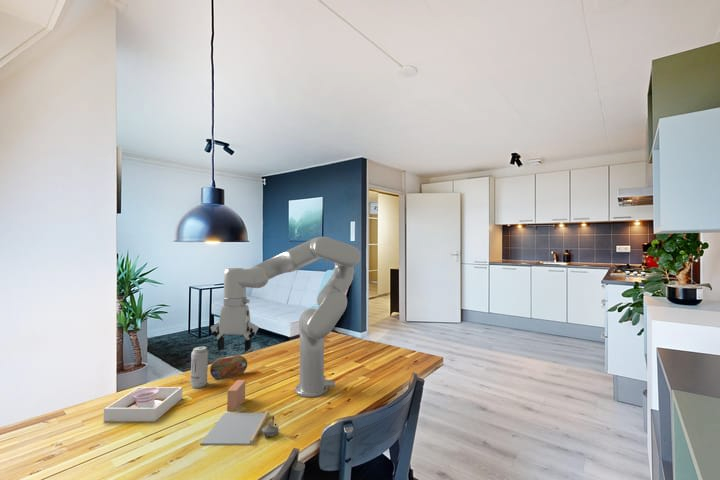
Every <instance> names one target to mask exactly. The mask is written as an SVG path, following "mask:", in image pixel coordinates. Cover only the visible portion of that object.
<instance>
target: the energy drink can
mask: <svg viewBox="0 0 720 480" xmlns="http://www.w3.org/2000/svg"><path fill="white" fill-rule="evenodd" d="M190 355H191V356H190V358H191V359H190V386H191V388H193V389H201V388H203V387H206V384H208V369H209V368H208V365H209V361H208V360H209V351H208V349H207V346H196V347H194V348H193V349H192V352H191V353H190Z"/></svg>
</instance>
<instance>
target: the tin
mask: <svg viewBox="0 0 720 480" xmlns="http://www.w3.org/2000/svg"><path fill="white" fill-rule="evenodd" d="M247 367H248V361H247V359H246V358H245V357H244V356H242V355H239V354H237V355H231V356H226V357H219V358H217V359H215V360H213V362H211V364H210V367H209V372H210V375H211V376H212V378H213V379H216V380H223V379H228V378H233V377H237V376H241V375H242V374H244V373H245V371H246V370H247Z"/></svg>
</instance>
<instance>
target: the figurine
mask: <svg viewBox="0 0 720 480" xmlns="http://www.w3.org/2000/svg"><path fill="white" fill-rule="evenodd" d="M279 432H280V428H279V424H278V423H277V420H276V419H275V416H274V415H272V416H271V419H269V421H267V425H265V426H262V428H261V433H262V436H264V438H265V439H268V437H269V438H271V437H274V436H277V435H278V434H279Z"/></svg>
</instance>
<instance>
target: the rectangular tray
mask: <svg viewBox="0 0 720 480" xmlns="http://www.w3.org/2000/svg"><path fill="white" fill-rule="evenodd" d="M146 387H147V386H138V387H136V388H133V390H131V391H130V392H128V393H126V394H125V395H123V396H122V397H121V398H119V399H117V400H116V401H115V400H114V402H112V403H110V404H109V405H108V406H106V407H105V408H104V407H103V422H156V421H157V420H158V419H159V418H161V417H163V415H164V414H165V413H167V412H168V411H169V410H170V409H171V408H172V407H174V406H175V405H176V404H177V403H178V402H179V401H180V400H182V399H183V386H155V387H156V388H158V389H159V392H158V394H157V395H156V397H155V399H156V400H163V401H162V402H161V403H160V404H159V405H157V406H156V407H155V408H153V407H151V408H129V407H130V406H131V405H132V404H133V403H134V400H135V399H134V398H133V397H132V393H133V392H134V391H136V390H138V389H141V388H146Z"/></svg>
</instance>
